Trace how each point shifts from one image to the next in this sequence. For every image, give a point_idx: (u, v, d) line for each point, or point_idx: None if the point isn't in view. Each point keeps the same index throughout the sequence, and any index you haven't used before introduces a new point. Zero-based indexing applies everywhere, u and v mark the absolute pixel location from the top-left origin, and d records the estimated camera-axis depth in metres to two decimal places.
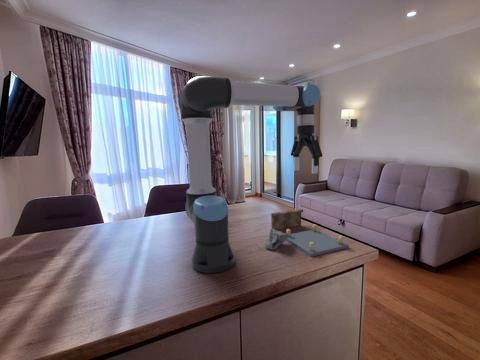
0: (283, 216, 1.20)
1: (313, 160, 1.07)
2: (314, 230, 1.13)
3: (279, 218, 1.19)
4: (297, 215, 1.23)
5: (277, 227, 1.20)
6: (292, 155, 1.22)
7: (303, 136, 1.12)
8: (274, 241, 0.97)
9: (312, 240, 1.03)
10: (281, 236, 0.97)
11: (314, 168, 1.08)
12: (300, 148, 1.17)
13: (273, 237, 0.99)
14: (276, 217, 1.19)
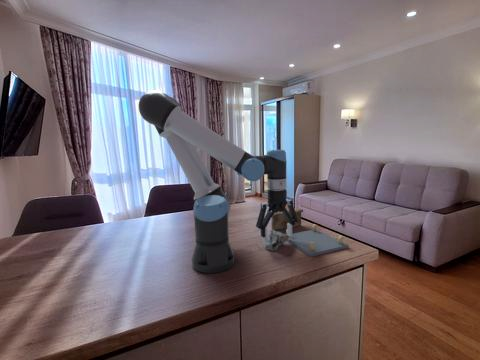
0: (283, 216, 1.20)
1: None
2: (314, 230, 1.13)
3: (279, 218, 1.19)
4: (297, 215, 1.23)
5: (277, 227, 1.20)
6: None
7: None
8: (274, 242, 0.97)
9: (312, 240, 1.03)
10: (281, 237, 0.97)
11: (263, 238, 1.00)
12: (284, 214, 1.01)
13: (273, 238, 0.99)
14: (276, 217, 1.19)
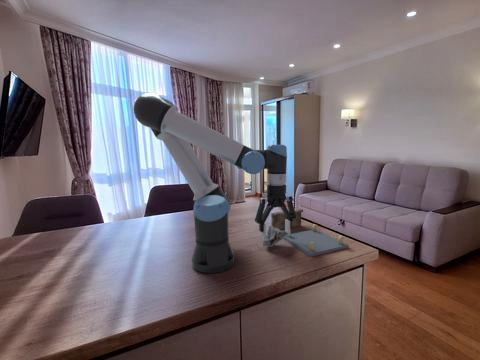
0: (283, 216, 1.20)
1: None
2: (314, 230, 1.13)
3: (279, 218, 1.19)
4: (297, 215, 1.23)
5: (277, 227, 1.20)
6: None
7: None
8: (272, 238, 0.96)
9: (312, 240, 1.03)
10: (279, 233, 0.96)
11: (261, 233, 1.00)
12: (283, 209, 1.01)
13: (271, 234, 0.98)
14: (276, 217, 1.19)
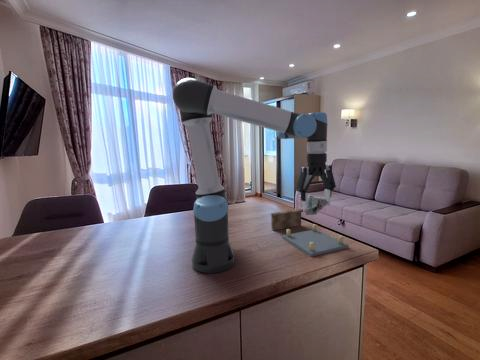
0: (283, 216, 1.20)
1: None
2: (314, 230, 1.13)
3: (279, 218, 1.19)
4: (297, 215, 1.23)
5: (277, 227, 1.20)
6: None
7: None
8: (315, 206, 0.97)
9: (312, 240, 1.03)
10: (322, 201, 0.97)
11: (303, 202, 1.00)
12: (323, 179, 1.01)
13: (313, 203, 0.99)
14: (276, 217, 1.19)
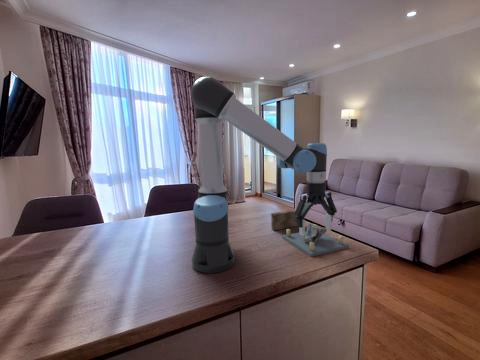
0: (283, 216, 1.20)
1: None
2: None
3: (279, 218, 1.19)
4: None
5: (277, 227, 1.20)
6: None
7: None
8: (314, 235, 0.99)
9: None
10: (321, 230, 0.99)
11: (300, 228, 1.01)
12: (323, 205, 1.03)
13: (312, 231, 1.00)
14: (276, 217, 1.19)
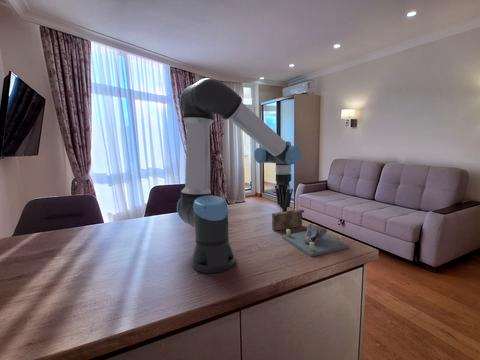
0: (284, 216, 1.20)
1: (282, 209, 1.23)
2: None
3: (280, 218, 1.19)
4: (298, 215, 1.23)
5: (278, 227, 1.19)
6: (279, 204, 1.26)
7: (281, 183, 1.21)
8: (314, 236, 0.98)
9: None
10: (321, 231, 0.98)
11: None
12: None
13: (312, 232, 1.00)
14: (277, 217, 1.18)
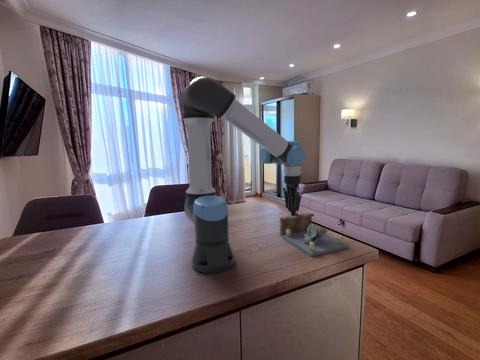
0: (292, 221, 1.13)
1: (291, 213, 1.16)
2: None
3: (288, 223, 1.12)
4: (307, 219, 1.16)
5: None
6: None
7: (290, 185, 1.14)
8: (314, 236, 0.98)
9: None
10: (321, 231, 0.98)
11: None
12: None
13: (312, 232, 1.00)
14: (285, 222, 1.11)
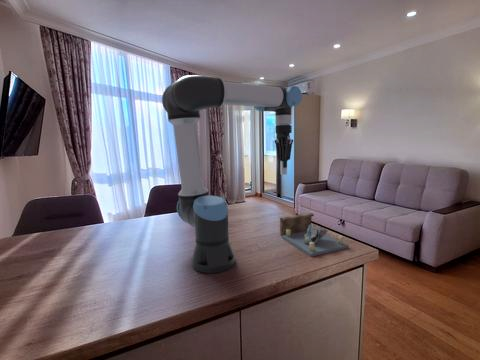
0: (292, 221, 1.13)
1: (282, 162, 1.19)
2: None
3: (288, 223, 1.12)
4: (307, 219, 1.16)
5: None
6: (279, 159, 1.22)
7: (281, 135, 1.18)
8: (314, 236, 0.98)
9: None
10: (321, 231, 0.98)
11: (283, 169, 1.20)
12: None
13: (312, 232, 1.00)
14: (285, 222, 1.11)
